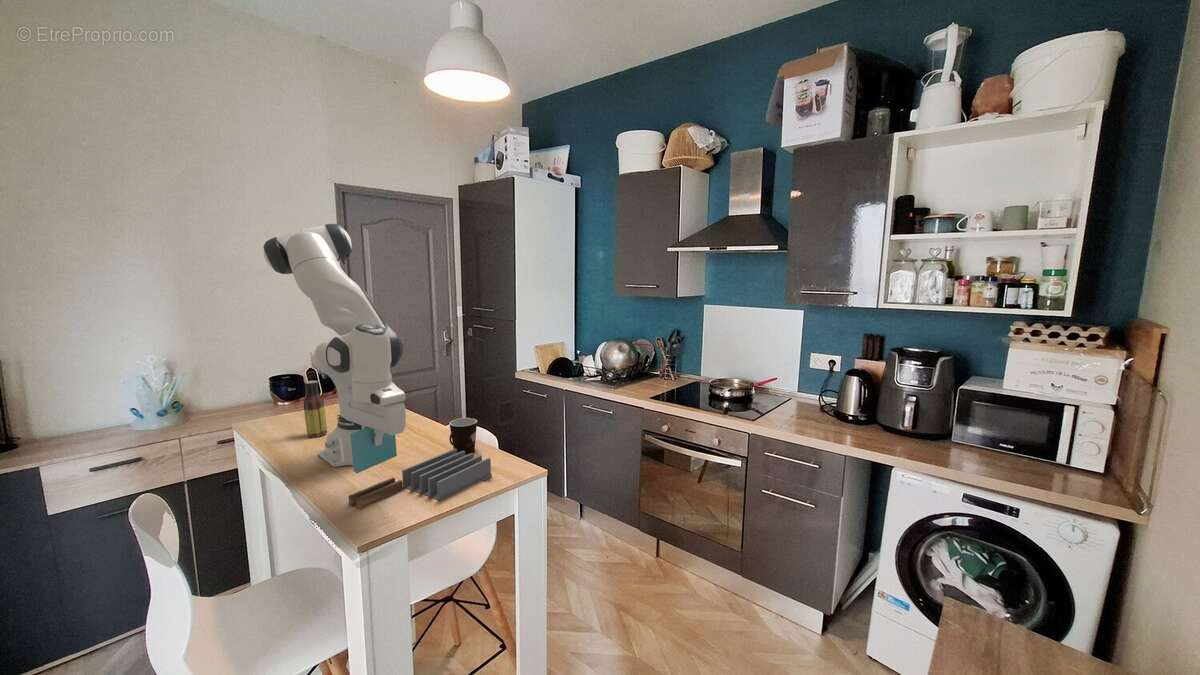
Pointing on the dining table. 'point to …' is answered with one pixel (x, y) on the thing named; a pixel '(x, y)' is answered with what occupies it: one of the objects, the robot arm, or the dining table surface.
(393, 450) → the plate
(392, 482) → the stand
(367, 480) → the dining table surface
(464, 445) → the coffee mug
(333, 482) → the dining table surface
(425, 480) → the rack
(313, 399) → the sauce bottle
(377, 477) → the dining table surface
